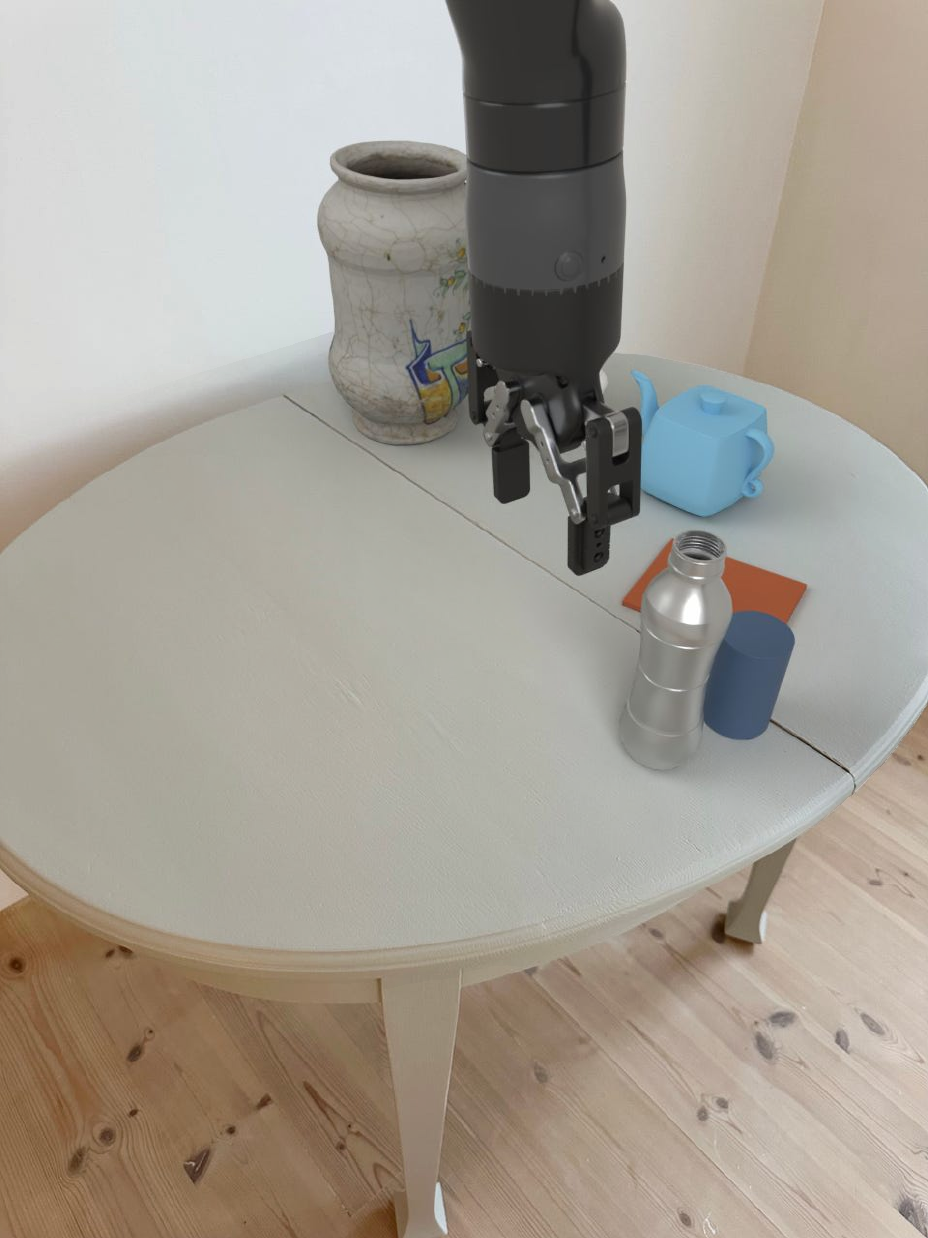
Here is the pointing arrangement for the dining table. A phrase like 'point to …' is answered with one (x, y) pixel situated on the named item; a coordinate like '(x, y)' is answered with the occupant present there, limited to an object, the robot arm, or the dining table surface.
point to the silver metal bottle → (677, 652)
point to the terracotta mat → (736, 587)
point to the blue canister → (747, 675)
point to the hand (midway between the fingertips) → (547, 531)
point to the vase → (398, 286)
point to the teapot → (702, 447)
